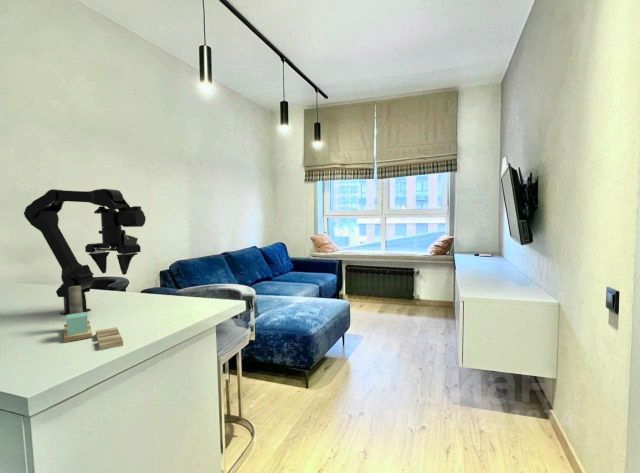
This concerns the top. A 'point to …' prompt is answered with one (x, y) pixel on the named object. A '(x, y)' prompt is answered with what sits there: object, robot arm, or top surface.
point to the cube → (77, 323)
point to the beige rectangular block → (109, 338)
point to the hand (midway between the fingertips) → (114, 273)
